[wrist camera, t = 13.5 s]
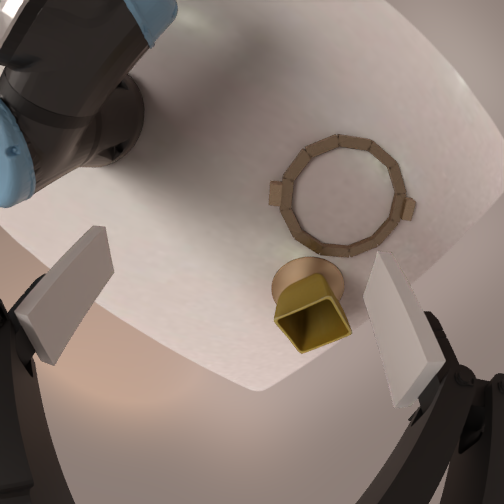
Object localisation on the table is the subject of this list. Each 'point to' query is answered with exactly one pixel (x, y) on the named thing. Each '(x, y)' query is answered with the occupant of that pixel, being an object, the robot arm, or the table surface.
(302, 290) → the flower pot
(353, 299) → the table surface
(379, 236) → the socket ring
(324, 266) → the coaster
